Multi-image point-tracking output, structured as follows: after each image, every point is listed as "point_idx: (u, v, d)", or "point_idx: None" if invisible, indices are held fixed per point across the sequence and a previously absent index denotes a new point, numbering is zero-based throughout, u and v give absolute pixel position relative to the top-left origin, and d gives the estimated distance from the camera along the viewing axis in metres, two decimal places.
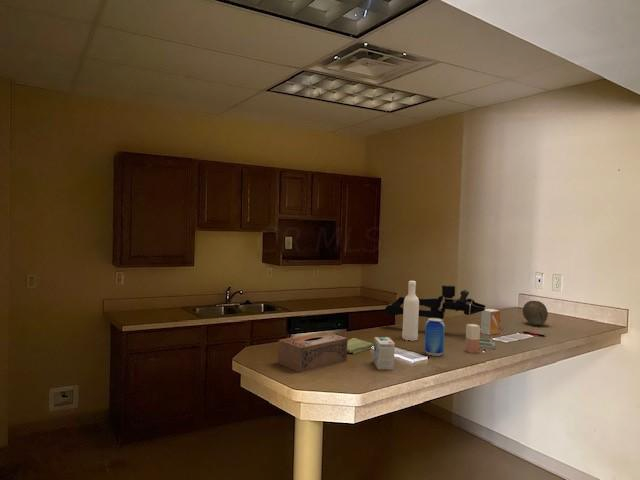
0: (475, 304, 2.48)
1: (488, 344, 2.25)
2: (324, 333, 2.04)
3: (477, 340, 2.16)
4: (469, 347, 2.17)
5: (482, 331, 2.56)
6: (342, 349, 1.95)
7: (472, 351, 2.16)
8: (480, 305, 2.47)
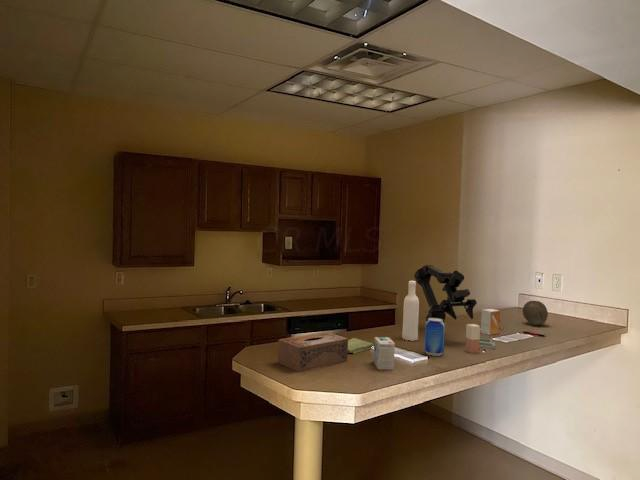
0: (469, 309, 2.30)
1: (488, 344, 2.25)
2: (325, 333, 2.03)
3: (477, 340, 2.16)
4: (469, 347, 2.17)
5: (482, 331, 2.56)
6: (342, 350, 1.94)
7: (472, 351, 2.16)
8: (470, 313, 2.28)
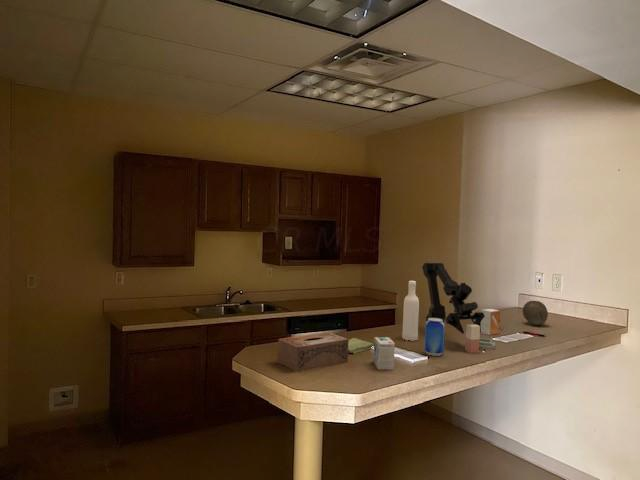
0: (477, 322, 2.23)
1: (488, 344, 2.25)
2: (327, 333, 2.03)
3: (477, 340, 2.16)
4: (469, 347, 2.17)
5: (482, 331, 2.56)
6: (342, 350, 1.93)
7: (472, 351, 2.16)
8: None
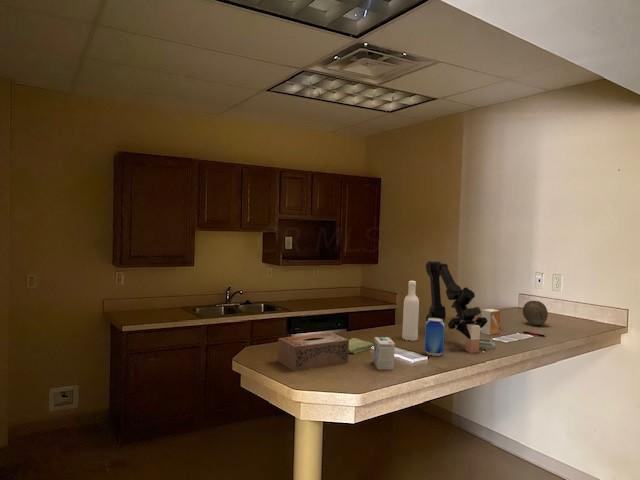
0: None
1: (488, 344, 2.25)
2: (328, 334, 2.02)
3: (477, 340, 2.16)
4: (469, 347, 2.17)
5: (482, 331, 2.56)
6: (342, 351, 1.93)
7: (472, 351, 2.16)
8: None
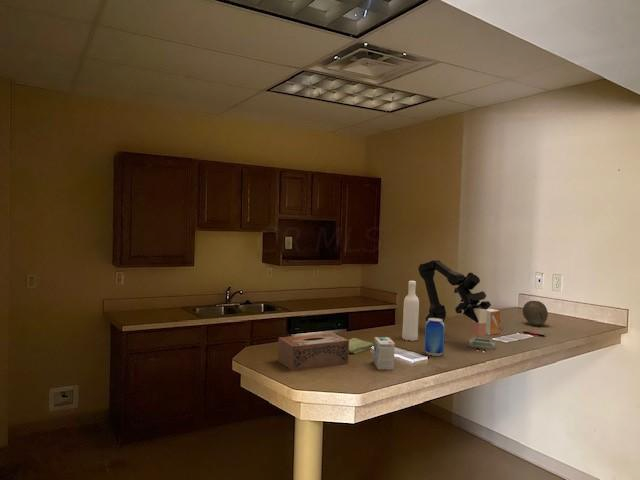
0: None
1: (488, 344, 2.25)
2: (329, 334, 2.02)
3: (484, 324, 2.21)
4: (477, 331, 2.21)
5: None
6: (342, 351, 1.92)
7: (480, 334, 2.20)
8: None
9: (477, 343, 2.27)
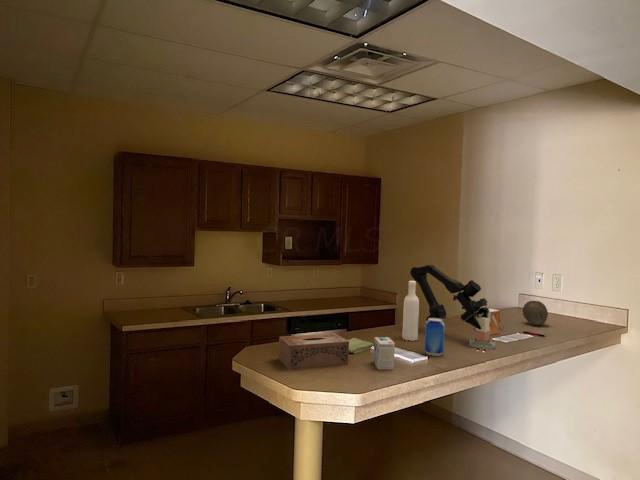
0: None
1: (488, 344, 2.25)
2: (332, 335, 2.01)
3: (488, 332, 2.30)
4: (482, 339, 2.28)
5: None
6: (342, 352, 1.90)
7: None
8: None
9: (477, 343, 2.27)
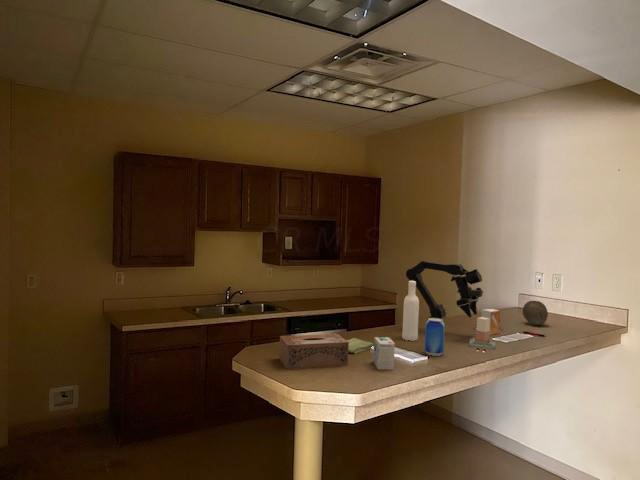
0: (473, 304, 2.44)
1: (488, 344, 2.25)
2: (333, 335, 2.01)
3: (488, 332, 2.30)
4: (482, 339, 2.28)
5: None
6: (341, 353, 1.90)
7: None
8: (474, 309, 2.44)
9: (477, 343, 2.27)
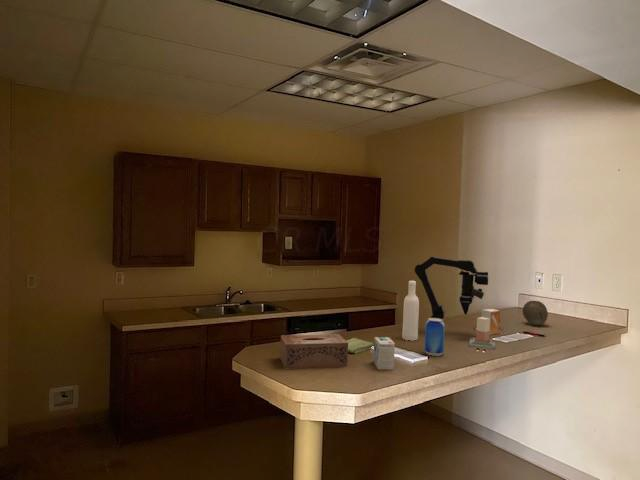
0: None
1: (488, 344, 2.25)
2: (334, 335, 2.00)
3: (488, 332, 2.30)
4: (482, 339, 2.28)
5: None
6: (341, 353, 1.89)
7: None
8: (467, 306, 2.50)
9: (477, 343, 2.27)
